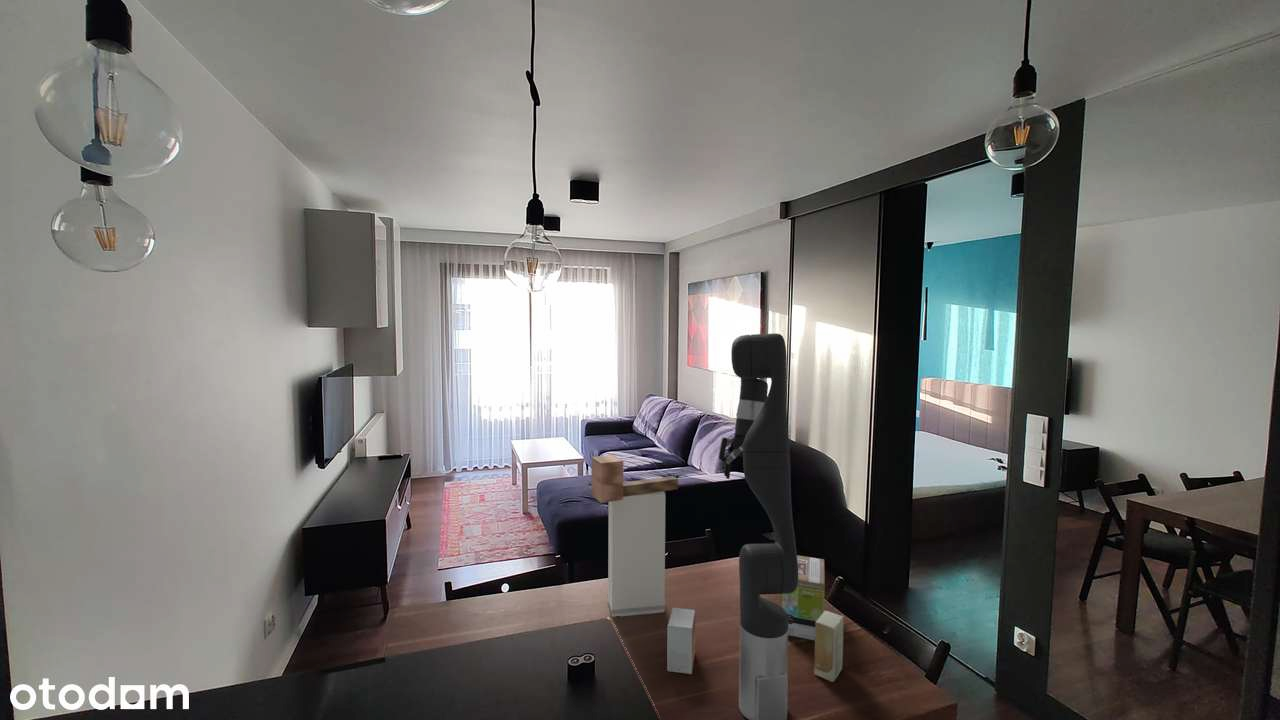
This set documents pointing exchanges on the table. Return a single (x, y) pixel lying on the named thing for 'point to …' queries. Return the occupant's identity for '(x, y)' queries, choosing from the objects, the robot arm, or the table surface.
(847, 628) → the table surface
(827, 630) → the skincare box
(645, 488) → the mallet
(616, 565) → the pedestal
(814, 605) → the green coffee box
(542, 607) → the table surface
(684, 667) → the small box
